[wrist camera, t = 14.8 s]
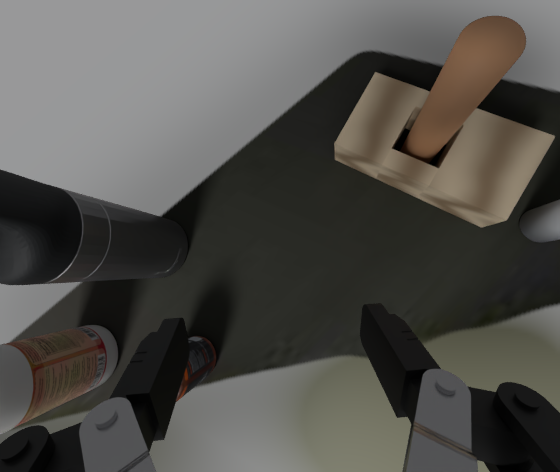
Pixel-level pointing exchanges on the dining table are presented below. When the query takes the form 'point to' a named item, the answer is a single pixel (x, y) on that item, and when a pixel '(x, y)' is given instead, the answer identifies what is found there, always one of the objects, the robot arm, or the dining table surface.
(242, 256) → the dining table surface
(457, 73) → the long dowel
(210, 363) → the supplement bottle
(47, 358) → the white plastic bottle
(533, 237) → the short dowel
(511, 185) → the wooden block with hole
